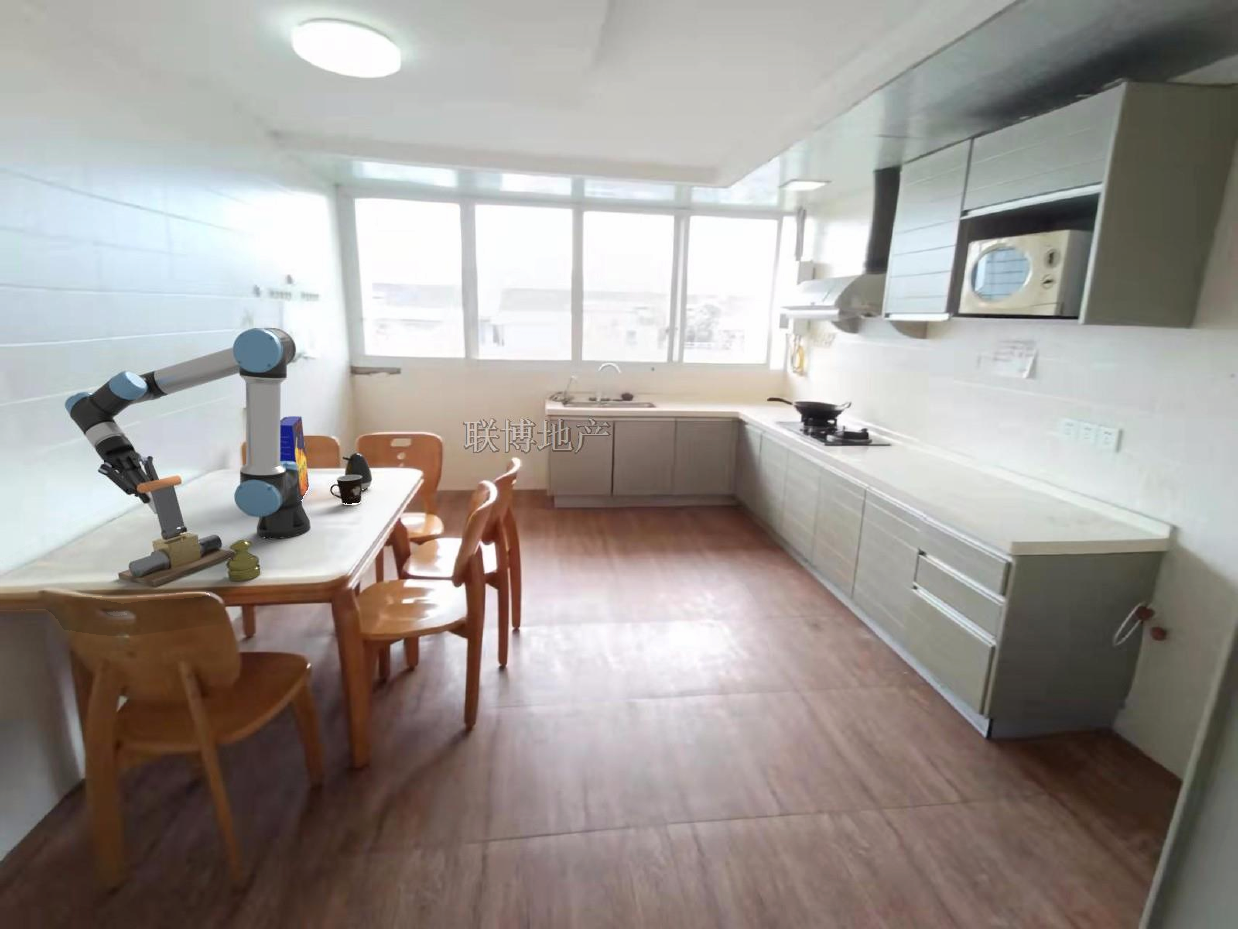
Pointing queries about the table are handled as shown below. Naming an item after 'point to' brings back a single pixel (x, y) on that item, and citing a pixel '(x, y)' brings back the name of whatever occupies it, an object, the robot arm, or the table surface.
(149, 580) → the pipe valve
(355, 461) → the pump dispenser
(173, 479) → the valve lever
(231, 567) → the gold pawn figurine
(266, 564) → the table surface
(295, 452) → the cereal box
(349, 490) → the coffee mug
